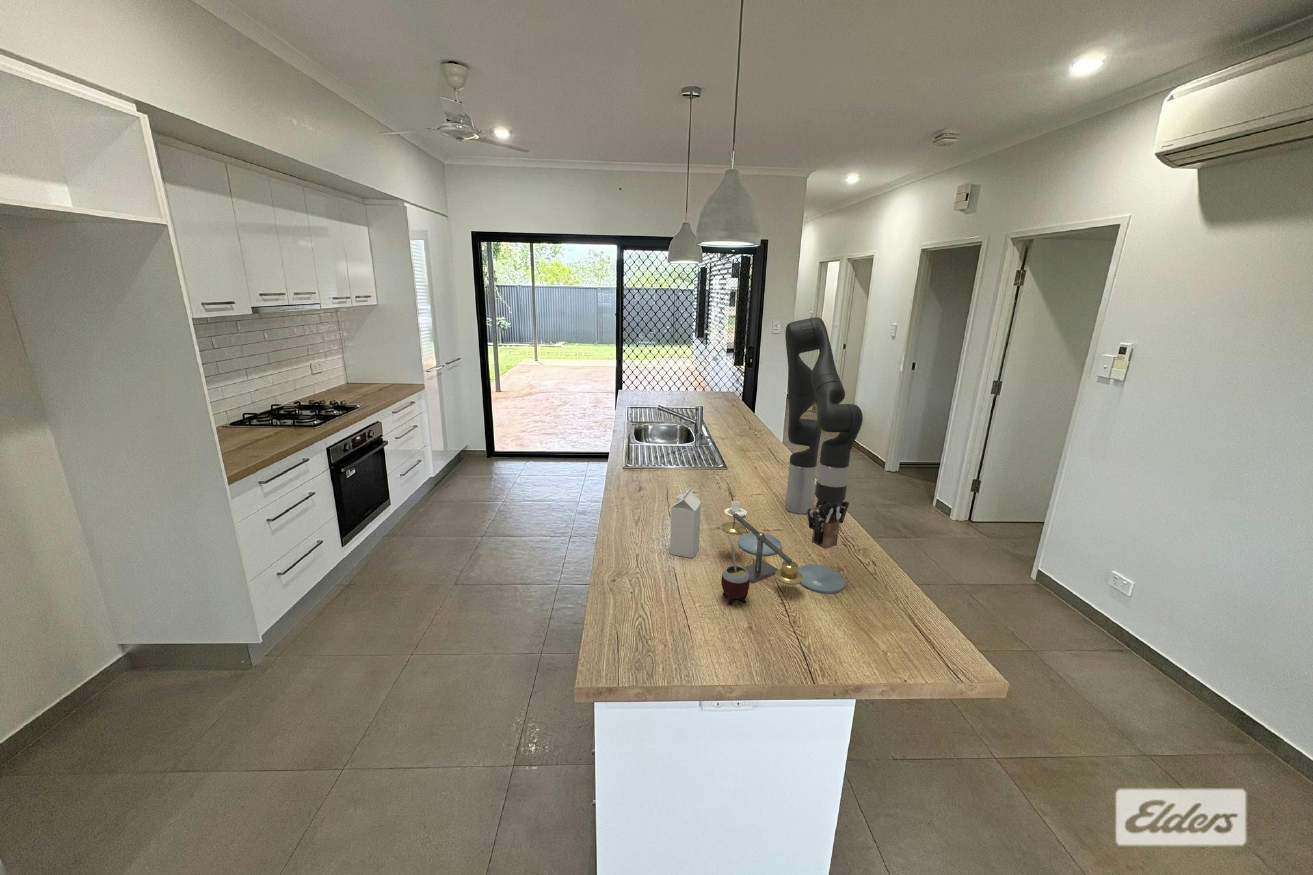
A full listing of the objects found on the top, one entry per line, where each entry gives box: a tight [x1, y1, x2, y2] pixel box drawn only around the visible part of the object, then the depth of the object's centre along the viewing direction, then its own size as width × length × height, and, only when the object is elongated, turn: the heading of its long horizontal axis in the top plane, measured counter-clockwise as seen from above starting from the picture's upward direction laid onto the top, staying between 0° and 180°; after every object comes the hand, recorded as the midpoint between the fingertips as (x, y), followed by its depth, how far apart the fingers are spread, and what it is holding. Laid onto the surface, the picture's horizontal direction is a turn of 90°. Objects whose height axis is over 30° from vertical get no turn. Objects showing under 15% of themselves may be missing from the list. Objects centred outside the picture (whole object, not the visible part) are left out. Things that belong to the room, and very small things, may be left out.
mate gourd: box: [720, 534, 751, 606], centre depth 127 cm, size 8×8×15 cm
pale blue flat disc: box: [737, 532, 782, 557], centre depth 157 cm, size 13×13×1 cm
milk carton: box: [669, 487, 702, 559], centre depth 150 cm, size 7×7×19 cm
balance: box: [720, 513, 803, 586], centre depth 139 cm, size 10×28×14 cm, turn 33°
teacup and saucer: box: [723, 500, 748, 518], centre depth 180 cm, size 9×8×4 cm
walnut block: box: [811, 517, 841, 550], centre depth 135 cm, size 4×4×7 cm
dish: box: [798, 563, 847, 595], centre depth 138 cm, size 13×13×1 cm
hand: (824, 540), depth 135 cm, fingers closed on walnut block, 4 cm apart
